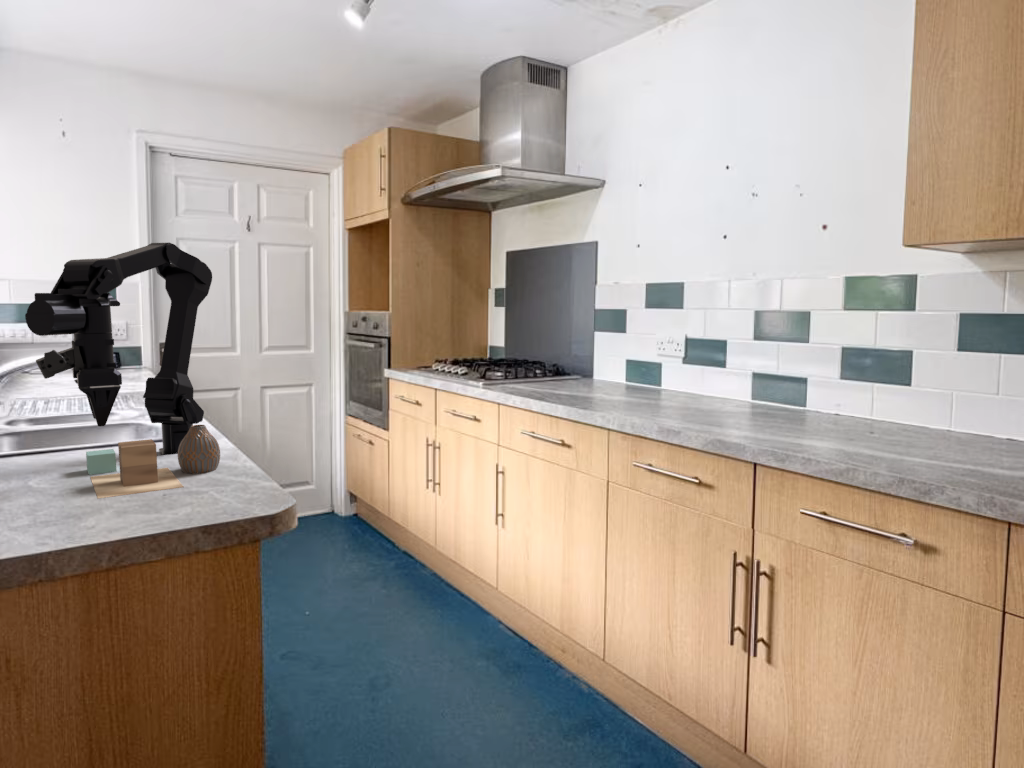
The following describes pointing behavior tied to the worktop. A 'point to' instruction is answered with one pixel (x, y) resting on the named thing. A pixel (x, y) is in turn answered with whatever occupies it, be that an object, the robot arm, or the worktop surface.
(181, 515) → the worktop surface
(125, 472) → the tower base
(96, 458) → the cube
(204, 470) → the vase
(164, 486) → the beech board
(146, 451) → the tower top
